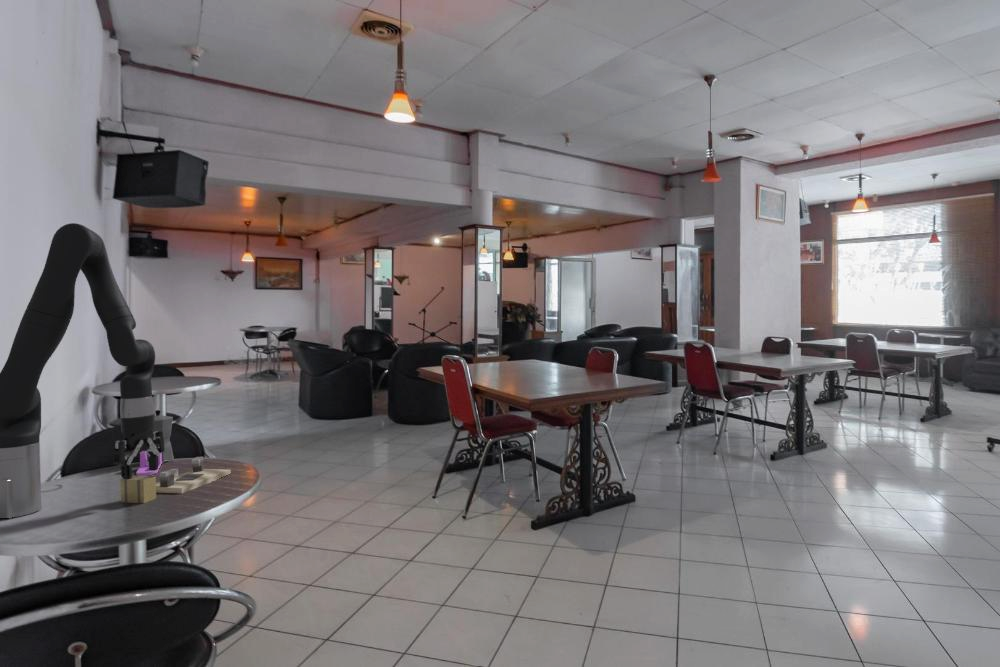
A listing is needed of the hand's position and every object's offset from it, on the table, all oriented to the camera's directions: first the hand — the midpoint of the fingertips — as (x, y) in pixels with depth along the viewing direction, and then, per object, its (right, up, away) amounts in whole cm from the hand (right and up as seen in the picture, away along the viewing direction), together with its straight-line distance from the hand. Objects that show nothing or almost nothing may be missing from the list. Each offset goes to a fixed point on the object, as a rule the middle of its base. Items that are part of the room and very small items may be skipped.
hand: (140, 474), depth 147 cm
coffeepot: (-23, -7, +44) cm, 50 cm away
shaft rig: (+4, -7, +16) cm, 18 cm away
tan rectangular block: (0, -7, -1) cm, 7 cm away
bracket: (-17, -7, +30) cm, 36 cm away
